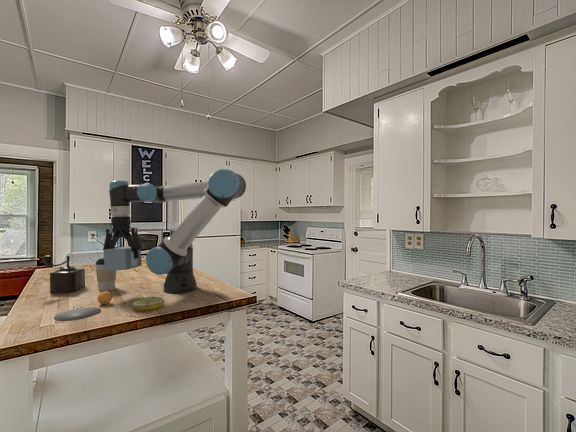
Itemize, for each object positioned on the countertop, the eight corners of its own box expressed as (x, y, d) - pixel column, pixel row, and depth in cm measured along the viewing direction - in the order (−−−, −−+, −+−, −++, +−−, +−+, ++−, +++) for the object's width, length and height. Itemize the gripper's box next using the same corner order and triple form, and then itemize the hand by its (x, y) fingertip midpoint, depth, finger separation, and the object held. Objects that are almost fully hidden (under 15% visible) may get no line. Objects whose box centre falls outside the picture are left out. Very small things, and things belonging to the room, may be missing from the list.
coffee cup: (110, 291, 141) (109, 259, 141) (91, 291, 142) (90, 259, 141) (121, 286, 151) (120, 256, 150) (103, 286, 151) (102, 256, 151)
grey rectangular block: (141, 265, 137) (140, 246, 137) (125, 269, 127) (124, 249, 127) (121, 266, 139) (120, 247, 139) (104, 270, 129) (103, 249, 129)
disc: (109, 308, 115) (109, 308, 115) (76, 322, 101) (76, 321, 101) (79, 306, 118) (79, 306, 118) (43, 319, 104) (43, 318, 104)
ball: (114, 302, 123) (114, 290, 123) (105, 306, 119) (104, 293, 118) (104, 301, 124) (104, 289, 124) (94, 305, 120) (94, 292, 120)
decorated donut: (150, 303, 123) (150, 294, 123) (169, 306, 118) (169, 296, 118) (127, 310, 114) (127, 300, 114) (147, 314, 109) (147, 304, 109)
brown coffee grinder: (62, 287, 149) (61, 251, 149) (86, 287, 150) (85, 251, 150) (39, 296, 133) (39, 256, 133) (66, 295, 135) (66, 255, 134)
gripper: (91, 217, 131) (94, 268, 131) (138, 215, 127) (141, 267, 127) (104, 217, 139) (107, 265, 139) (149, 214, 135) (152, 264, 135)
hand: (123, 266), depth 133 cm, fingers closed on grey rectangular block, 10 cm apart
